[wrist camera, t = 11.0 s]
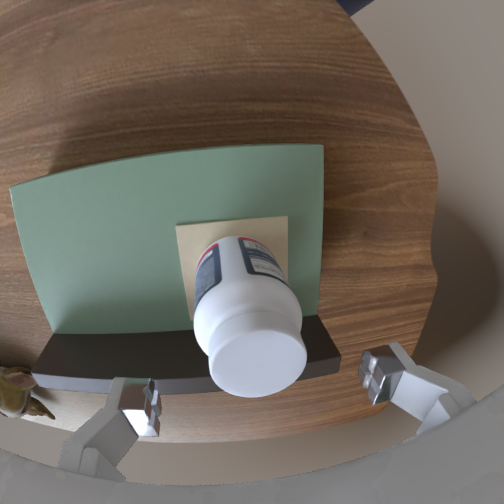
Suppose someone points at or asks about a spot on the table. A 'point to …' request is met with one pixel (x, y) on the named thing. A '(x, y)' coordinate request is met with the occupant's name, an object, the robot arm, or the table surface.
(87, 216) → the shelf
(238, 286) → the pill bottle
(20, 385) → the ceramic sculpture
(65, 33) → the table surface
